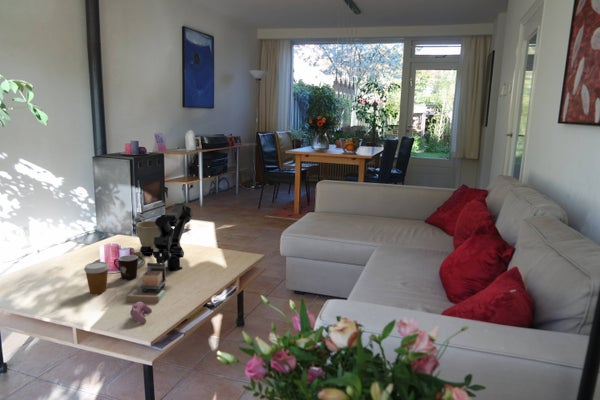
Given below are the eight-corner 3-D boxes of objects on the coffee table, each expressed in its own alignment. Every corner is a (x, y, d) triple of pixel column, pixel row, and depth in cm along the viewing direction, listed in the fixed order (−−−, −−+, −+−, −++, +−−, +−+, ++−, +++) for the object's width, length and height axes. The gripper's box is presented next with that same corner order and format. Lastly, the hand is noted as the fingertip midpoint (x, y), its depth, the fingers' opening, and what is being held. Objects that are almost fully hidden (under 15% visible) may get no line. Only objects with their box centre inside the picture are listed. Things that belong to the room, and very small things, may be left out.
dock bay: (135, 294, 185) (134, 287, 185) (165, 295, 185) (164, 288, 185) (126, 303, 177) (126, 296, 176) (158, 304, 176) (158, 297, 176)
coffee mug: (142, 278, 203) (141, 258, 201) (124, 283, 197) (123, 262, 195) (130, 272, 211) (129, 252, 209) (112, 276, 205) (111, 256, 203)
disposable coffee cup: (98, 297, 181) (96, 270, 179) (80, 294, 184) (78, 266, 182) (115, 289, 190) (113, 263, 187) (98, 286, 193) (96, 260, 191)
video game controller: (142, 316, 169) (133, 301, 167) (153, 311, 169) (144, 296, 167) (135, 328, 159) (126, 312, 158) (146, 323, 159) (137, 307, 158)
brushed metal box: (148, 285, 194) (147, 262, 192) (166, 285, 194) (165, 263, 192) (140, 293, 185) (139, 269, 183) (159, 293, 185) (158, 270, 183)
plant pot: (132, 254, 237) (130, 226, 235) (145, 247, 252) (144, 220, 249) (157, 256, 235) (156, 228, 232) (170, 249, 250) (169, 221, 247)
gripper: (140, 228, 197) (131, 259, 188) (181, 229, 197) (175, 261, 188) (147, 240, 206) (139, 270, 197) (186, 242, 206) (180, 272, 197)
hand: (158, 268), depth 195 cm, fingers closed
